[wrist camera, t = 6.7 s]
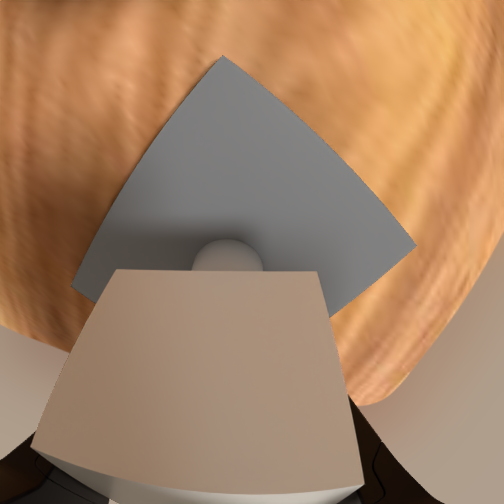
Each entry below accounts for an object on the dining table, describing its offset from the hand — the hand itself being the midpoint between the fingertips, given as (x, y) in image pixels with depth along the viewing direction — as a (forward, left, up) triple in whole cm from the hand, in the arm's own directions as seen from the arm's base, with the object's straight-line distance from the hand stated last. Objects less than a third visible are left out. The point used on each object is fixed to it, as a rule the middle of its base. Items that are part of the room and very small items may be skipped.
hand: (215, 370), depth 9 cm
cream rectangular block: (+1, +1, -1) cm, 2 cm away
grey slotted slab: (0, 0, -7) cm, 7 cm away
